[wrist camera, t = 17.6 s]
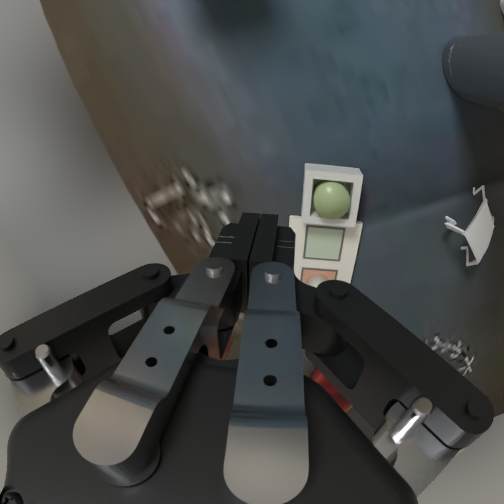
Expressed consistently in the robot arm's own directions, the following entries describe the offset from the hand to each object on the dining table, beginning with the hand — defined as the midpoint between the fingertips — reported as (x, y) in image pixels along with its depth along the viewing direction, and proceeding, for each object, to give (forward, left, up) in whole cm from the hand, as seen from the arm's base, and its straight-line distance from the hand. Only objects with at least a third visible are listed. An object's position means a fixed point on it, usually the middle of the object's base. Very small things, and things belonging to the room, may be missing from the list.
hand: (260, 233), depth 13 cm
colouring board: (-6, +19, -27) cm, 34 cm away
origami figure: (-28, +10, -27) cm, 40 cm away
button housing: (-6, +8, -27) cm, 29 cm away
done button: (-6, +8, -26) cm, 28 cm away
